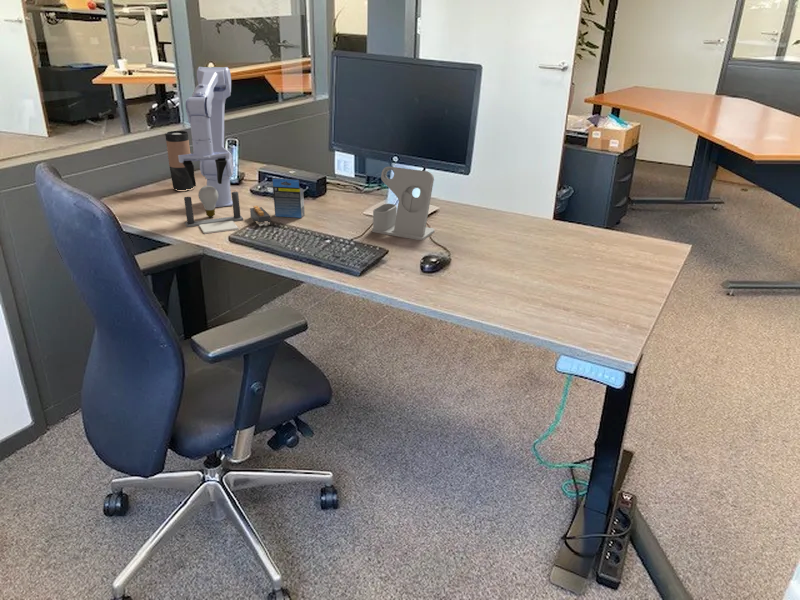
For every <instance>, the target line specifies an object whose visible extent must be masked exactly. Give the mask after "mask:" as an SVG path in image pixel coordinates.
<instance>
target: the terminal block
mask: <svg viewBox="0 0 800 600" xmlns="http://www.w3.org/2000/svg"><path fill="white" fill-rule="evenodd" d="M252 206H253V208H252V207H250V208H249V212H250V218H251V220H252V221H253V222H254V221H258V222H264V221H268V222H271V219H272V218H271V215H270V214H269V213H268V212H267V211H266V210H265V208H263V207H262V206H258V205H252ZM271 223H272V222H271Z"/></svg>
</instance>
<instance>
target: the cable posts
mask: <svg viewBox="0 0 800 600" xmlns="http://www.w3.org/2000/svg"><path fill="white" fill-rule="evenodd" d="M239 197H240V196H239V192H238V191H231V199H232V203H233V205H232V209H233V210H232V211H233V215H232V216H228V217H227V216H226V217H219V218H218V217H217V218H210V219H201V220H195V217H194V209H193V202H192V197H191V196H184V197H183V199H184V200H183V201H184V207H185V215H186V221H185V222H184V225H185V227H186V228H192V227H198V226H199V225H201V224H209V223H217V222H225V221H233V222H238V221H244V217H243V216H242V215H241V208H240V206H241V205H240V198H239Z"/></svg>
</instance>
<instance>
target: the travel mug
mask: <svg viewBox="0 0 800 600" xmlns="http://www.w3.org/2000/svg"><path fill="white" fill-rule="evenodd" d="M164 135H165V144H166V148H167V149H166V150H167V151H166V152H167V157H168V166H169V171H170V178H171V182H172V188H174V189H177V190H186V189H191V188H193V187H194V188H195V186H193V185H192V181H191V178H190V176H189V174H188V172H187V170H186V168H185V166H184V165H183V163H180V162H179V158H178V155H185V154H192V153H191V149H190V148H191V147H190V140H189V132H188V131H186V130H185V131H184V130H170V131H167V132H166V133H165V134H164ZM174 189H173V190H174Z"/></svg>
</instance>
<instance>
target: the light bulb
mask: <svg viewBox="0 0 800 600" xmlns="http://www.w3.org/2000/svg"><path fill="white" fill-rule="evenodd" d="M198 199H199V201H200V202H201V203H202V205H203V208H204V209H205V214H206V215H205V216H207V217H208V218H213V217H214V216H215V215H216V211H215V209H216V207H215V204H216V202H217V200H218V192H217V190H216V189H215V188H214V187H212V186H207V185H204V186H202V187H201V188H200V189H199V191H198Z"/></svg>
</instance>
